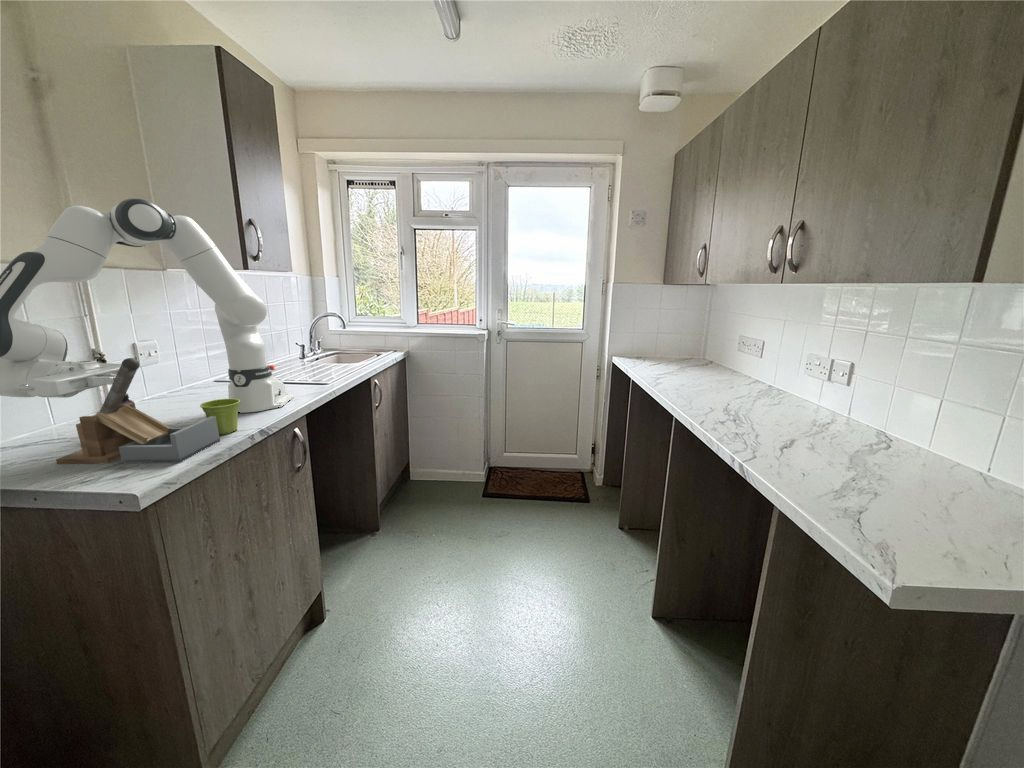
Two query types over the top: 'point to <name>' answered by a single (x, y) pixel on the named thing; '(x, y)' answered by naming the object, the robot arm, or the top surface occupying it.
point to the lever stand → (96, 443)
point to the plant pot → (223, 413)
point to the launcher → (128, 410)
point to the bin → (173, 444)
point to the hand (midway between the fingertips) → (117, 379)
